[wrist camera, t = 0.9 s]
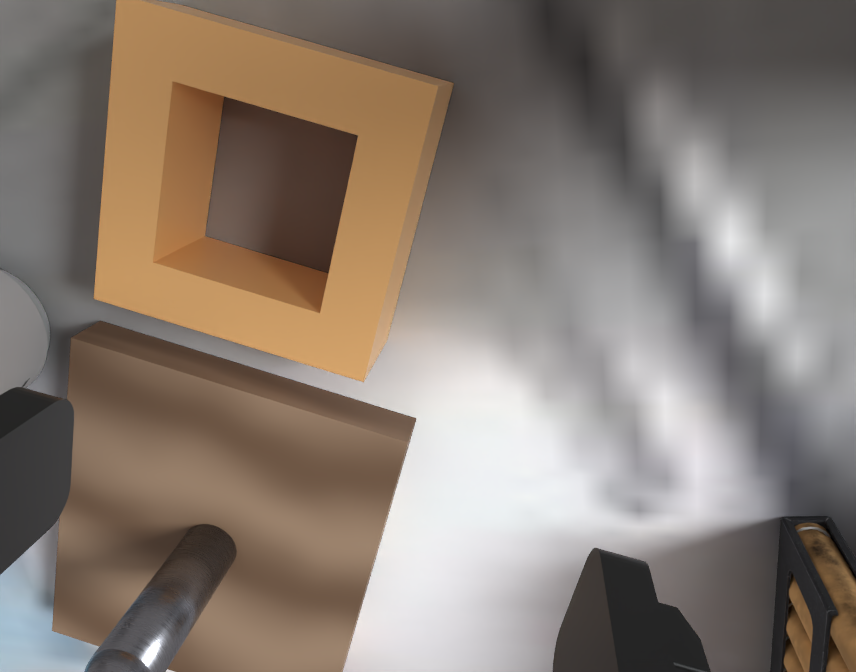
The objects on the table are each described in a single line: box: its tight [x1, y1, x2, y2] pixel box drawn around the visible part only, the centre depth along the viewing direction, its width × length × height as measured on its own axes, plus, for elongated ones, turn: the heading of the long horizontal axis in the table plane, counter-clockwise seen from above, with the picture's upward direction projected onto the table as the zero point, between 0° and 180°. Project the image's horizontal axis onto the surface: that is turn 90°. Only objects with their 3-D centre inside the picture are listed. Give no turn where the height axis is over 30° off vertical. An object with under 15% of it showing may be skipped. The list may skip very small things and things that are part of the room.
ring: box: [94, 0, 454, 382], centre depth 24 cm, size 10×10×4 cm
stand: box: [52, 321, 416, 672], centre depth 28 cm, size 16×14×10 cm
